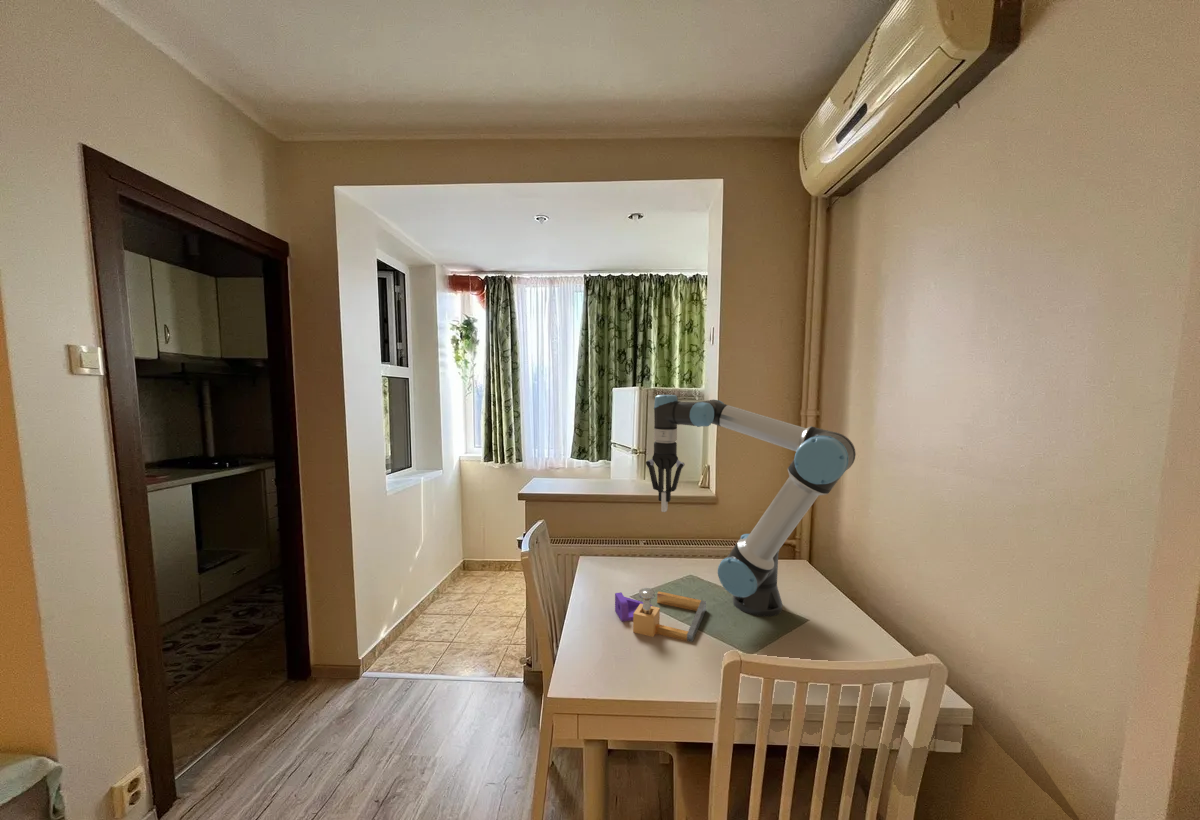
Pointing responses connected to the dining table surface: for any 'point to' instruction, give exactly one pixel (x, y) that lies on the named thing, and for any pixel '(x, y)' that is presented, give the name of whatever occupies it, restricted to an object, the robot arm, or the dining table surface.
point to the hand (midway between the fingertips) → (664, 510)
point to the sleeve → (646, 621)
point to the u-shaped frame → (687, 604)
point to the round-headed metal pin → (646, 599)
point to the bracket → (625, 606)
